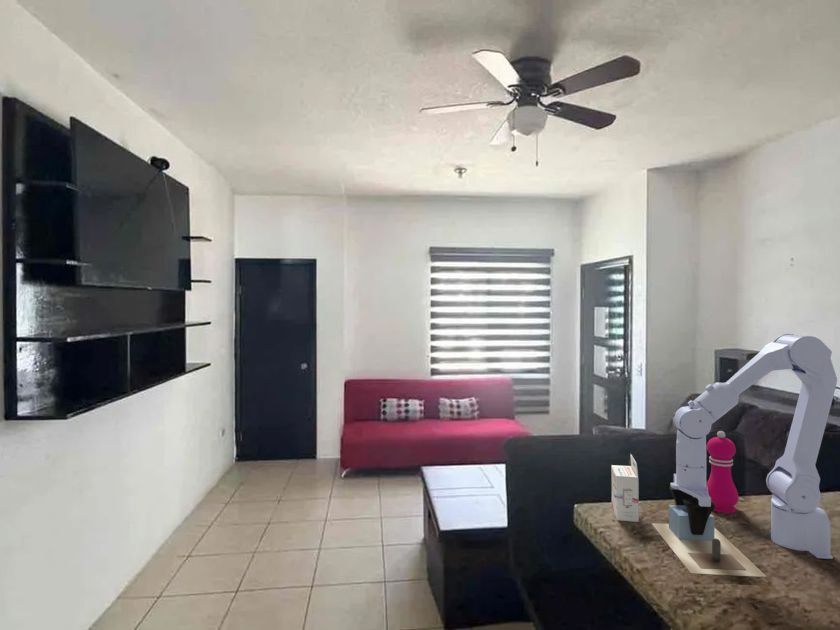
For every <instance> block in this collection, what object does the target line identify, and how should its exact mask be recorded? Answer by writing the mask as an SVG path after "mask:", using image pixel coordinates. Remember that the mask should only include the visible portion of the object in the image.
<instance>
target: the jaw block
mask: <svg viewBox="0 0 840 630" xmlns="http://www.w3.org/2000/svg"><path fill="white" fill-rule="evenodd" d="M668 524H669V529H670V530H671V531H672V532H673V533H674V534H675V536H676V537H677V538H678V539H679V540H702V541H712V540H713V539H714V527H715V516H714V515H713V514H712V513H711V514H710V516H709V518H708V520H707V523H706V527H705V530H704V533H703V535H693V534H692V533H691V530H690V524H689V516H688V512H687V509H686V506H684V505H676V504H669V505H668Z"/></svg>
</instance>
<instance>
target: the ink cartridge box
mask: <svg viewBox="0 0 840 630" xmlns="http://www.w3.org/2000/svg"><path fill="white" fill-rule="evenodd" d="M630 464H631V465H619V464H618V465H617V464H616V465H615V464H614V465H613V464H611V468H610V469H611V471H610V472H611V508H612V511H613V512H614V517H615V518H616V520H617V521H623V522H625V521H626V522H637V523H638V522H640V520H639V519H640V516H639V515H640V511H639V506H640V505H639V504H640V503H639V501H640V499H639V498H640V497H639V493H640V491H639V489H640V488H639V485H640V484H639V471H638V470H639V469H638V463H637V462H636V460H635V458H634V456H633V455H632V453H630Z"/></svg>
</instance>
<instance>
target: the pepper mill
mask: <svg viewBox="0 0 840 630" xmlns="http://www.w3.org/2000/svg"><path fill="white" fill-rule="evenodd" d="M706 451H707V452H708V453H709V455H710V456H708V459H709V460H708V462H709V463H710V465H711V467H710V469H711V471H710V474H709V478H708V480H707V481H706V486H707V488H708V494H709V496H710V497H711V502H712V503H713V504H715V509H714V510H713V511H715V512H719V513H722V514H723V513H724V514H725V513H726V514H732V513H736V512H737V509H736V507H735V505H737V504H738V503H739V493H738V490H737V487H736V485H735V483H734V481H733V477H732V466H733V465H734V463H733V462H734V459H733V457H734V456H735V454H736V451H737V450H736V445H735V443H734V442H733V441H732V440H731V439H729V438H727V437H726V432H724V431H723V430H719V431H717V433H716V436H714V437H712V438H710V439H709V440H708V442H707V443H706Z"/></svg>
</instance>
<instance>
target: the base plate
mask: <svg viewBox="0 0 840 630" xmlns="http://www.w3.org/2000/svg"><path fill="white" fill-rule="evenodd" d="M651 525H652V526H653V527H654V529H655V530H656V531H657V532H658V534H659V535H660V536H661V538H662V539H663V540H664V541H665V542H666V544H667V545H668V546H669V548H670V549H671V550H672V551H673V553H674V554H675V555H676V556H677V558H678V559H679V560H680V561H681V563H682V564H683V566H684V567H685V568H686V569H687V570H688V572H689V573H690V574H693V575H694V574H698V575H715V576H716V575H717V576H736V577H737V576H738V577H758V578H759V577H760V578H768V576H767V575H766V574H765V573H763V571H761V570H760V568H758V567H757V565H755V564H754V563H753V562H752V561H751V560H750V559H749V558H748V557H747V556H746V555H745V554H743V553H742V551H740V550H739V549H738V547H736V546H735V545H734V544H733V543H732V542H731V541H730V540H729V539H727V538H726V536H725V535H723V534H722V533H721V532H720V531H719V530H718V529H717V528H716V527H715V526H714V539H713V540H712V541H702V540H679V539H678V538H677V537H676V536H675V534H674V533H673V532H672V531H671V530H670V529H669V523H657V522H656V523H655V522H651Z"/></svg>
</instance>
